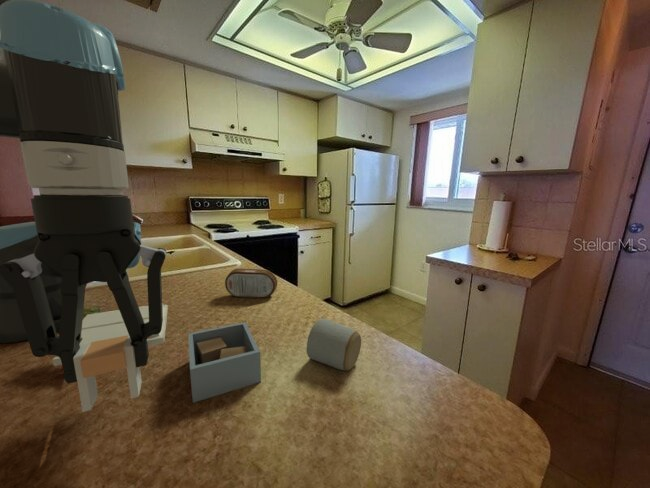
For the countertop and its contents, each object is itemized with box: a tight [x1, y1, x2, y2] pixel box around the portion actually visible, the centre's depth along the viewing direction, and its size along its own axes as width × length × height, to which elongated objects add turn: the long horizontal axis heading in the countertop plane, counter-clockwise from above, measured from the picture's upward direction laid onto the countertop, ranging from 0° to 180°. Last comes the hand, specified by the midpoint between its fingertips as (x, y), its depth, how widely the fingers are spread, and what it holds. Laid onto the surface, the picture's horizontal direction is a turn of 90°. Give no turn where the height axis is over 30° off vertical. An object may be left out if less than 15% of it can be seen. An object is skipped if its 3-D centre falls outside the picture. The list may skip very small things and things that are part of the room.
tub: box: [187, 321, 262, 404], centre depth 46 cm, size 11×10×6 cm
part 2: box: [220, 346, 246, 359], centre depth 45 cm, size 4×4×4 cm
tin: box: [224, 268, 278, 299], centre depth 79 cm, size 15×3×8 cm, turn 88°
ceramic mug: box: [306, 317, 362, 372], centre depth 51 cm, size 11×8×8 cm
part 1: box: [197, 336, 227, 364], centre depth 47 cm, size 4×4×4 cm
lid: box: [52, 302, 169, 378], centre depth 36 cm, size 16×11×2 cm
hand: (114, 395), depth 32 cm, fingers closed on lid, 4 cm apart
